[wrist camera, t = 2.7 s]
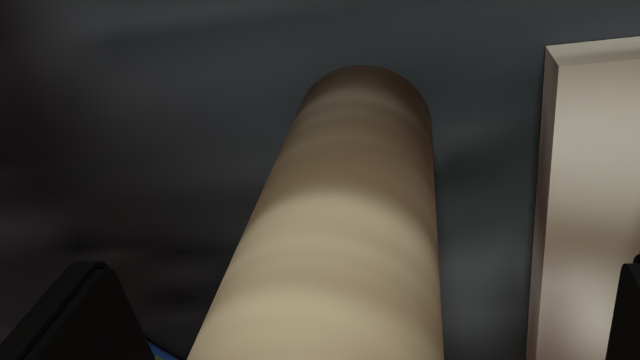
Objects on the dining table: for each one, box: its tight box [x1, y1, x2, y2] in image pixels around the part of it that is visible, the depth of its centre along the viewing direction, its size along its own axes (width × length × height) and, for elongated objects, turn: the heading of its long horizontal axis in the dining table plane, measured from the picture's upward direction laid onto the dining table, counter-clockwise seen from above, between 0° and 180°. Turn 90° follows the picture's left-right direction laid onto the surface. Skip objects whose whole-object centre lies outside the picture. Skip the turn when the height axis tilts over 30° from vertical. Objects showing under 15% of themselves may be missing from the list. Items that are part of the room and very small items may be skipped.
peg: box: [187, 65, 444, 360], centre depth 10 cm, size 4×4×14 cm
